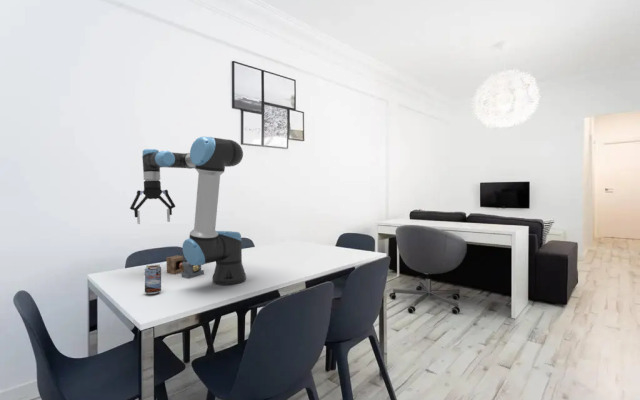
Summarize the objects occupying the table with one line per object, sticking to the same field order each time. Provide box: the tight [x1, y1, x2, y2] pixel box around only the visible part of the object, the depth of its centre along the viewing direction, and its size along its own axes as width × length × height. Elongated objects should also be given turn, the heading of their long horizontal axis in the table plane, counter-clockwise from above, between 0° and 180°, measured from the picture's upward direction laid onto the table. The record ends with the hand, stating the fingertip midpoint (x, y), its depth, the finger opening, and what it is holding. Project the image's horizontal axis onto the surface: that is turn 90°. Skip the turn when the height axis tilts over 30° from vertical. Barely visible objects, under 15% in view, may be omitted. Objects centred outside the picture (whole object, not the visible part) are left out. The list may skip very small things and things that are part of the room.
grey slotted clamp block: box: [181, 262, 205, 280], centre depth 164 cm, size 5×9×7 cm, turn 148°
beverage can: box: [144, 263, 162, 295], centre depth 137 cm, size 6×7×12 cm
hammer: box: [179, 253, 199, 272], centre depth 165 cm, size 12×4×10 cm, turn 58°
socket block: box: [165, 254, 184, 275], centre depth 171 cm, size 6×6×8 cm
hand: (154, 222), depth 166 cm, fingers open, 13 cm apart
